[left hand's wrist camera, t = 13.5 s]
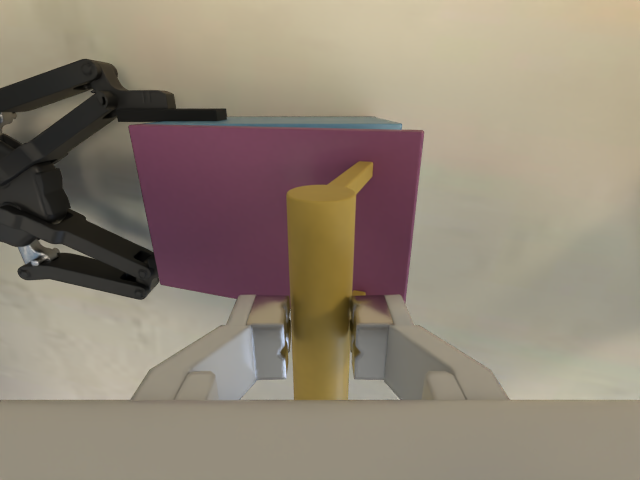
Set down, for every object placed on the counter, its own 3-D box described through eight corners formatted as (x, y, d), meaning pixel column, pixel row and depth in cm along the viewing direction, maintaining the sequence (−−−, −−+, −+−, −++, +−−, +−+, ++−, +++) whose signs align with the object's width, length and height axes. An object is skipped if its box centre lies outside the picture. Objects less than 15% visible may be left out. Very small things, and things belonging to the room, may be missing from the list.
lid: (424, 130, 15) (410, 158, 7) (403, 318, 19) (379, 466, 11) (142, 124, 20) (-48, 137, 12) (171, 277, 23) (41, 362, 16)
